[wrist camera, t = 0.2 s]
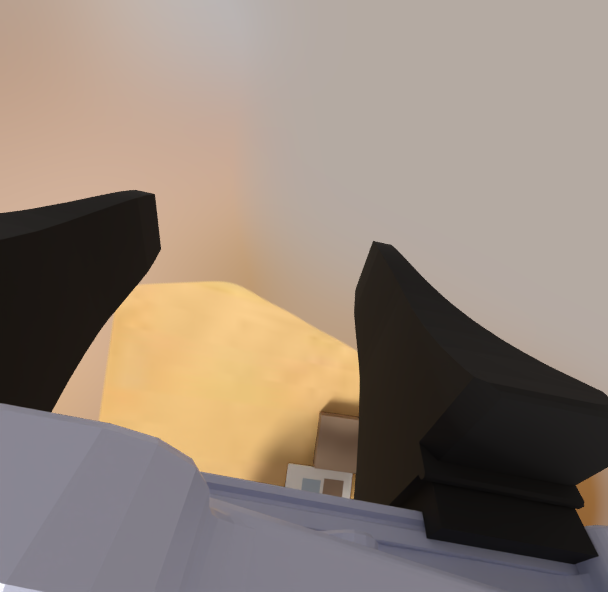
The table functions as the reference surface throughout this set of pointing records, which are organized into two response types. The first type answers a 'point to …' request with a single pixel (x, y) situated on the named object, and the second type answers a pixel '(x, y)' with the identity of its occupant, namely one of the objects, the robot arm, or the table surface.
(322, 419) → the base brick
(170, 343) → the table surface
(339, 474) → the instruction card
